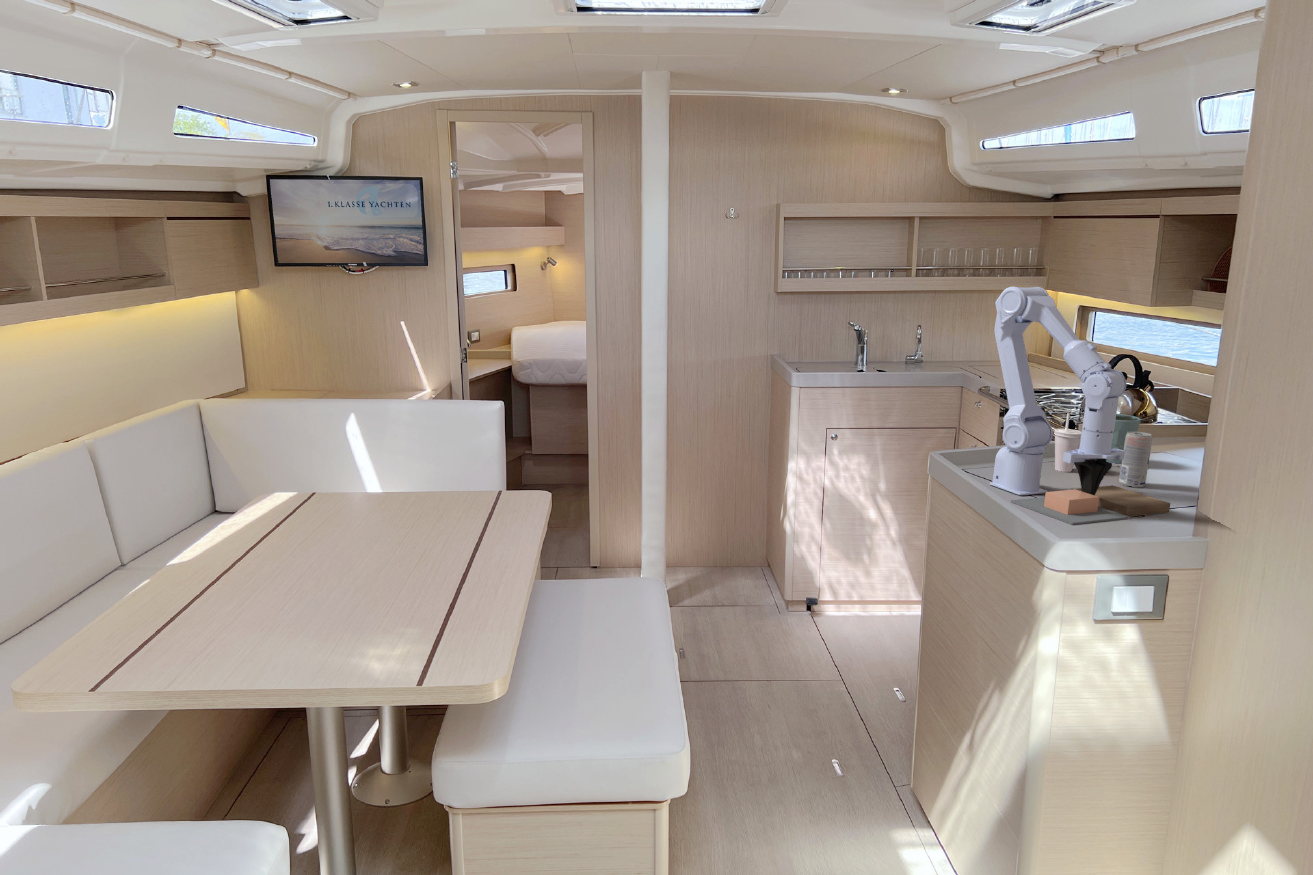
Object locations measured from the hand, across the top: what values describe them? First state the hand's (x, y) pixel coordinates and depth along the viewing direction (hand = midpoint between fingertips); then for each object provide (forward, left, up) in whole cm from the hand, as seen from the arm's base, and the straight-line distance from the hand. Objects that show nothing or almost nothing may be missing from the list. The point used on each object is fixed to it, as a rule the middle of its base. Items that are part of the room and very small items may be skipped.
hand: (1088, 495), depth 181 cm
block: (+1, -5, -2) cm, 5 cm away
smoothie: (-27, +22, -3) cm, 35 cm away
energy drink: (-12, +27, -3) cm, 30 cm away
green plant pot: (-30, +41, -3) cm, 51 cm away
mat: (0, -5, -3) cm, 6 cm away
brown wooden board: (0, +9, -3) cm, 9 cm away
